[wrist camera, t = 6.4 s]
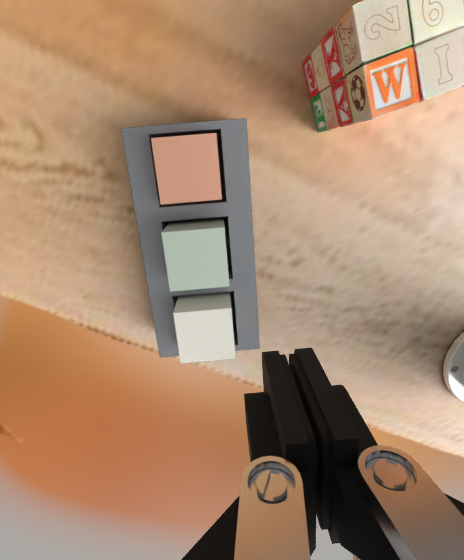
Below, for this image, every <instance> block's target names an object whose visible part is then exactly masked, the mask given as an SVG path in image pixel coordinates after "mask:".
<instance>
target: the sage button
mask: <svg viewBox="0 0 464 560" xmlns="http://www.w3.org/2000/svg"><path fill="white" fill-rule="evenodd" d="M161 234H162V241H163V247H164V254H165V261H166V268H167V274H168V281H169V288H170V292H171V291H182V290H194V289H205V288H216V287H228V286H229V274H228V262H227V250H226V239H225V227H224V219H223V218H213V219H201V220H189V221H177V222H169V224H168V225H167V226H166V227H165V229H164V230H163V231H162V232H161Z"/></svg>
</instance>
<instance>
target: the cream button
mask: <svg viewBox="0 0 464 560" xmlns="http://www.w3.org/2000/svg"><path fill="white" fill-rule="evenodd" d="M173 315H174V322H175V329H176V335H177V342H178V349H179V356H180V362H181V363H191V362H202V361H213V360H224V359H235V358H236V357H235V345H234V333H233V321H232V309H231V300H230V291H227V292H216V293H204V294H193V295H182V296H178V298H177V302H176V305H175V309H174V312H173Z"/></svg>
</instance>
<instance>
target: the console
mask: <svg viewBox="0 0 464 560" xmlns="http://www.w3.org/2000/svg"><path fill="white" fill-rule="evenodd" d="M121 132H122V138H123V144H124V149H125V155H126V161H127V167H128V173H129V179H130V185H131V191H132V197H133V202H134V208H135V214H136V220H137V226H138V232H139V238H140V244H141V249H142V255H143V261H144V267H145V273H146V279H147V285H148V291H149V296H150V302H151V308H152V314H153V320H154V326H155V332H156V338H157V344H158V349H159V355H160V357H171V356H179V349H178V342H177V335H176V329H175V322H174V315H173V312H174V309H175V305H176V302H177V298H178V296H182V295H193V294H204V293H216V292H227V291H230V300H231V309H232V321H233V333H234V345H235V351H237V350H248V349H259V348H260V347H259V329H258V312H257V294H256V277H255V259H254V242H253V224H252V207H251V189H250V172H249V155H248V137H247V120H246V118H244V119H231V120H219V121H206V122H194V123H181V124H169V125H156V126H143V127H131V128H121ZM208 133H216V134H217V146H218V158H219V170H220V182H221V193H222V199H221V200H209V201H197V202H185V203H173V204H160V197H159V190H158V183H157V176H156V169H155V162H154V155H153V148H152V141H151V138H158V137H171V136H183V135H196V134H208ZM213 218H223V219H224V227H225V239H226V250H227V262H228V274H229V286H228V287H216V288H205V289H194V290H182V291H171V292H170V288H169V281H168V274H167V268H166V261H165V254H164V247H163V241H162V234H161V232H162V231H163V230H164V229H165V227H166V226H167V225H168V224H169V222H177V221H189V220H201V219H213Z"/></svg>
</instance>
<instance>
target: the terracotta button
mask: <svg viewBox="0 0 464 560" xmlns="http://www.w3.org/2000/svg"><path fill="white" fill-rule="evenodd" d="M151 141H152V148H153V155H154V162H155V169H156V176H157V183H158V190H159V197H160V204H173V203H185V202H197V201H209V200H221V199H222V193H221V182H220V170H219V158H218V146H217V134H216V133H208V134H196V135H183V136H171V137H158V138H151Z"/></svg>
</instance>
